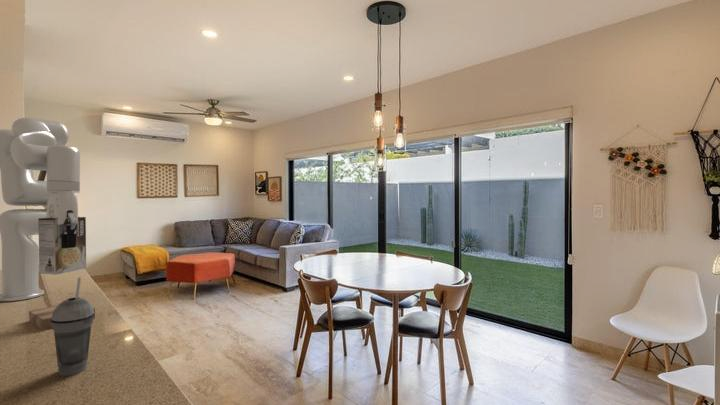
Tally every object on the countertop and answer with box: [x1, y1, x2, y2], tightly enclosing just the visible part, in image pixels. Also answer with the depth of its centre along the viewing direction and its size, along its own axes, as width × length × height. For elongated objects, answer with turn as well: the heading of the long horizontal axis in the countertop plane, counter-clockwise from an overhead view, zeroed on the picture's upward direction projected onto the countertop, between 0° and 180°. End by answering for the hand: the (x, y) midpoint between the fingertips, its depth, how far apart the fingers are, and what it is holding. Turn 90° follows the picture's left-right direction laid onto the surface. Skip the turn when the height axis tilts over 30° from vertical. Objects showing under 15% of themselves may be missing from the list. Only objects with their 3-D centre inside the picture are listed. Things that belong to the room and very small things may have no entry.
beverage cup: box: [51, 277, 96, 377], centre depth 74 cm, size 7×7×20 cm
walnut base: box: [28, 305, 96, 331], centre depth 104 cm, size 12×12×3 cm
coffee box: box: [38, 216, 87, 275], centre depth 104 cm, size 9×6×16 cm
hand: (63, 246), depth 104 cm, fingers closed on coffee box, 8 cm apart
